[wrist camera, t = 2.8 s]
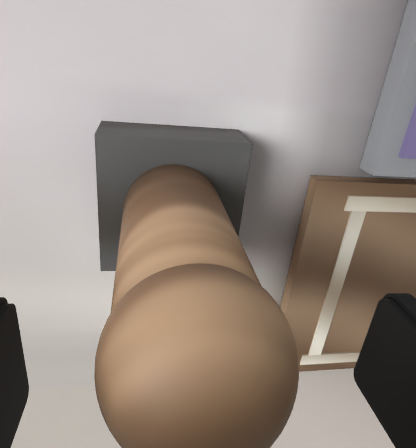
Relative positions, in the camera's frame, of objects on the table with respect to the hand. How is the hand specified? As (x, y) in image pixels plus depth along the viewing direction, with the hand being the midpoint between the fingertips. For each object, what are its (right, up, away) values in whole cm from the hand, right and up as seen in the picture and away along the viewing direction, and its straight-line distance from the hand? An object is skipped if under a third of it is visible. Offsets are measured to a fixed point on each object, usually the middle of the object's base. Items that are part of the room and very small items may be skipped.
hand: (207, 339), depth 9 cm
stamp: (-2, +5, +8) cm, 9 cm away
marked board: (+12, 0, +13) cm, 18 cm away
